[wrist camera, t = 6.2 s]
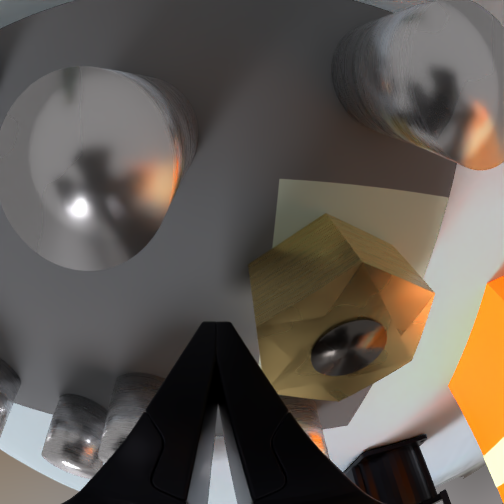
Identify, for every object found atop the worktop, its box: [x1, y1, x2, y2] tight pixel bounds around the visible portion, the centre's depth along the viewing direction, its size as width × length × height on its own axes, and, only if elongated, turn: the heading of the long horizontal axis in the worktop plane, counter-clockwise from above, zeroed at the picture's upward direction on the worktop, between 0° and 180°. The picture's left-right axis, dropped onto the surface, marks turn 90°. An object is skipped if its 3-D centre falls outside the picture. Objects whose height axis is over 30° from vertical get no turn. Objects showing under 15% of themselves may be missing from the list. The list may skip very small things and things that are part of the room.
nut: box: [248, 213, 435, 402], centre depth 8 cm, size 4×5×3 cm
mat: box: [0, 0, 457, 436], centre depth 9 cm, size 23×18×1 cm
